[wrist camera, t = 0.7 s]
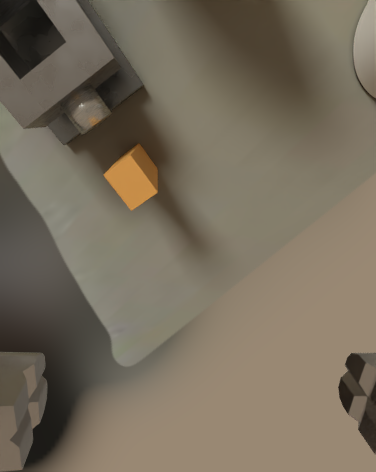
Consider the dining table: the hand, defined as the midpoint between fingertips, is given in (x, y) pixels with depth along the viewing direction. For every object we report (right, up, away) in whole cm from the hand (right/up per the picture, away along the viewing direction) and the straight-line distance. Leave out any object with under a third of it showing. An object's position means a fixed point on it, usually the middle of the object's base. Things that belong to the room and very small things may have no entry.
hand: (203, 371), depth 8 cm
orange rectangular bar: (-7, +13, +33) cm, 36 cm away
